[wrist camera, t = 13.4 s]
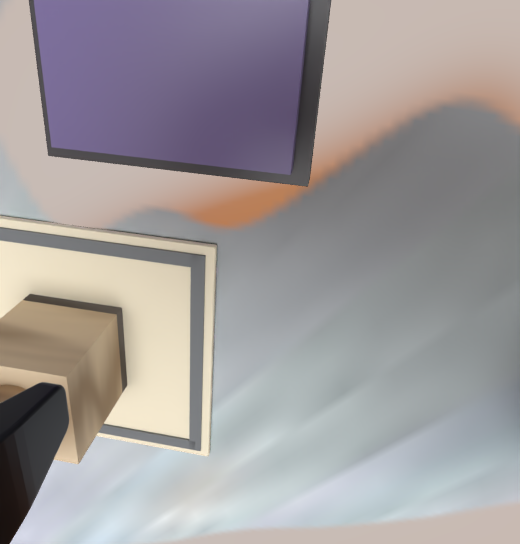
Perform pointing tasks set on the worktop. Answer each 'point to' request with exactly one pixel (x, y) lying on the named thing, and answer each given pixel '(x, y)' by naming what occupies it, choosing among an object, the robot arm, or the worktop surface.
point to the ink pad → (183, 83)
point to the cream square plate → (131, 317)
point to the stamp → (66, 361)
